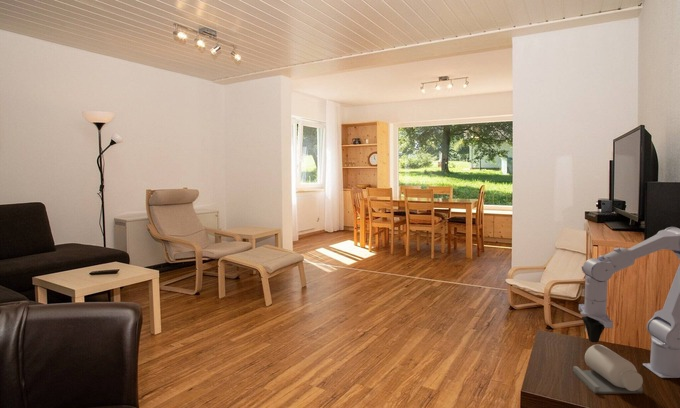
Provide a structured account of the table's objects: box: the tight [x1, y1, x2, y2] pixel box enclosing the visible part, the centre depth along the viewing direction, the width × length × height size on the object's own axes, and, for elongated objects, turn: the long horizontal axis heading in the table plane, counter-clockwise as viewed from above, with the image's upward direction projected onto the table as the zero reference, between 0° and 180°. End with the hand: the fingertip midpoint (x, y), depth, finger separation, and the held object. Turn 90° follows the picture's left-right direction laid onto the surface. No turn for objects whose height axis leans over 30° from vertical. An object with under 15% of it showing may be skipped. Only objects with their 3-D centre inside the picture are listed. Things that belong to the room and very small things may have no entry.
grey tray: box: [572, 365, 643, 395], centre depth 121 cm, size 13×12×2 cm
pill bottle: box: [584, 343, 644, 391], centre depth 120 cm, size 8×8×15 cm
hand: (593, 341), depth 126 cm, fingers closed
